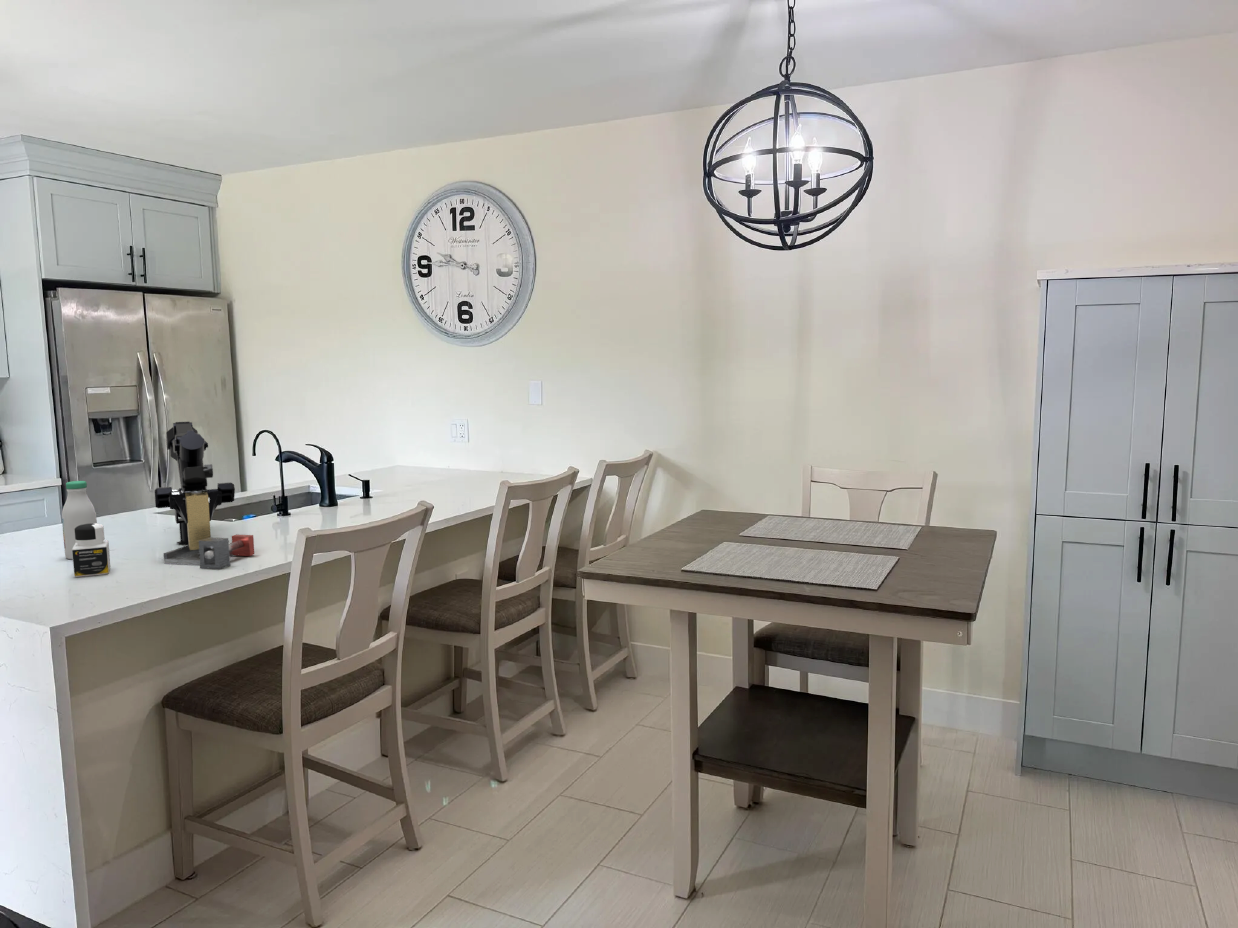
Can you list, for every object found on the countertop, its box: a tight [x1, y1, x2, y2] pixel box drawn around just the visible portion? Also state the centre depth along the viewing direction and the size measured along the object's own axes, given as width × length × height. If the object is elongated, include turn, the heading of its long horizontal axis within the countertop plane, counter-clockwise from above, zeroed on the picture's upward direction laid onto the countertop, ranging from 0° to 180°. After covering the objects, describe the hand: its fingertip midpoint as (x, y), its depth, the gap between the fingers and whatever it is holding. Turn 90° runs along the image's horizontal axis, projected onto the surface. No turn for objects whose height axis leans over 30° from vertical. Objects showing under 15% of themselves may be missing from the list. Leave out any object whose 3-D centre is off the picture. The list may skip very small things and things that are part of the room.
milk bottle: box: [61, 480, 98, 560], centre depth 224 cm, size 8×8×20 cm
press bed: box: [163, 544, 234, 566], centre depth 222 cm, size 12×12×3 cm
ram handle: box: [204, 534, 255, 559], centre depth 219 cm, size 5×15×5 cm, turn 169°
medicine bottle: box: [72, 522, 111, 578], centre depth 208 cm, size 7×7×12 cm
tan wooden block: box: [185, 490, 212, 550], centre depth 221 cm, size 5×5×15 cm
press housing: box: [199, 536, 231, 570], centre depth 214 cm, size 6×4×7 cm
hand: (198, 521), depth 220 cm, fingers closed on tan wooden block, 5 cm apart
